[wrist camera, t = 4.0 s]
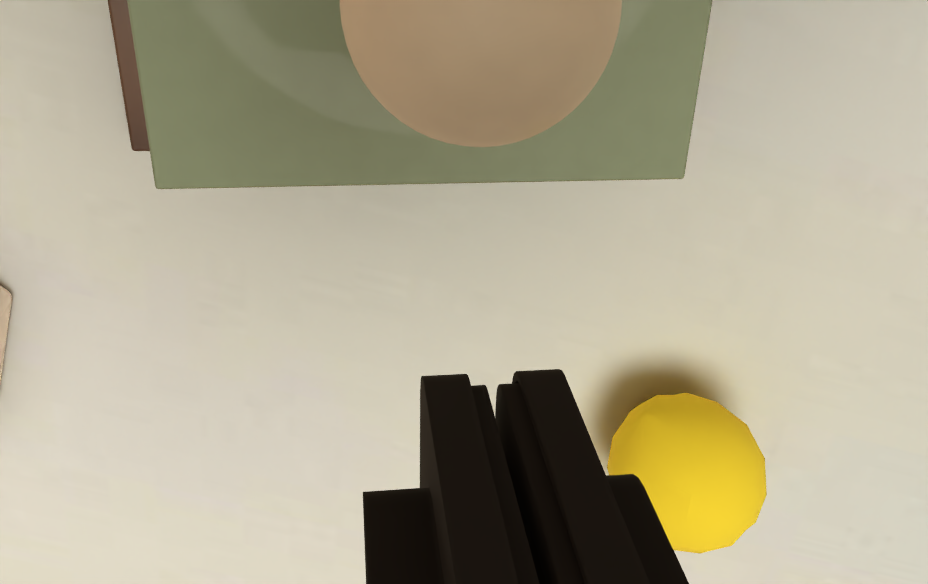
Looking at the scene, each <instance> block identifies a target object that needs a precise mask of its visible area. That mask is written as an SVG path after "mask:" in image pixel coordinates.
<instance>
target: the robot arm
mask: <svg viewBox="0 0 928 584" xmlns="http://www.w3.org/2000/svg"><path fill="white" fill-rule="evenodd" d="M363 508H364V537H365V563H366V584H689V583H688V581H687V579H686V576H685V574H684V572H683V570H682V568H681V566H680V563H679V561H678V559H677V557H676V555H675V553H674V550H673V548H672V546H671V544H670V542H669V540H668V537H667V535H666V533H665V531H664V529H663V526H662V524H661V522H660V520H659V518H658V516H657V513H656V511H655V509H654V507H653V505H652V503H651V500H650V498H649V496H648V494H647V492H646V490H645V487H644V486H643V484H642V482H641V481H640V479H639V478H638V477H637V476H636V475H634V474H624V475H609V476H606V475H605V472H604V470H603V467H602V465H601V462H600V460H599V458H598V455H597V453H596V450H595V448H594V445H593V443H592V441H591V438H590V436H589V433H588V431H587V428H586V426H585V424H584V421H583V419H582V416H581V414H580V411H579V409H578V407H577V404H576V402H575V399H574V397H573V394H572V392H571V389H570V387H569V385H568V382H567V380H566V377H565V375H564V373H563V371H562V370H560V369H554V370H535V371H516V372H515V373H514V376H513V381H512V384H499V385H498V388H497V396H496V414H495V416H494V412H493V409H492V405H491V401H490V398H489V394H488V390H487V387H486V386H485V385H478V386H471V384H470V380H469V377H468V375H467V374H456V375H437V376H422V377H421V389H420V488H416V489H401V490H386V491H372V492H363Z"/></svg>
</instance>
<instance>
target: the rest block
mask: <svg viewBox="0 0 928 584" xmlns="http://www.w3.org/2000/svg"><path fill="white" fill-rule="evenodd" d="M127 3H128V9H129V16H130V23H131V29H132V36H133V42H134V49H135V56H136V62H137V69H138V75H139V82H140V89H141V95H142V102H143V108H144V115H145V121H146V128H147V135H148V141H149V148H150V154H151V161H152V168H153V174H154V181H155V186H156V188H157V189H184V188H236V187H287V186H338V185H390V184H441V183H493V182H544V181H595V180H647V179H682V178H684V174H685V168H686V161H687V155H688V149H689V143H690V136H691V130H692V124H693V118H694V111H695V105H696V99H697V93H698V86H699V80H700V74H701V68H702V61H703V55H704V49H705V43H706V36H707V30H708V24H709V18H710V11H711V5H712V0H622V9H621V18H620V24H619V30H618V35H617V38H616V41H615V45H614V48H613V51H612V54H611V56H610V59H609V61H608V63H607V65H606V68H605V70H604V71H603V73H602V75H601V76H600V78H599V80H598V82H597V83H596V85H595V86H594V87H593V89H592V90H591V91H590V93H589V94H588V95H587V97H586V98H585V99H584V100H583V101H582V102H581V103H580V104H579V105H578V106H577V107H576V108H575V109H574V110H573V111H572V112H571V113H570V114H568V115H567V116H566V117H565V118H564V119H562V120H561V121H560V122H558V123H557V124H555V125H553V126H552V127H550V128H549V129H547V130H545V131H543V132H541V133H539V134H537V135H535V136H533V137H531V138H528V139H525V140H522V141H519V142H516V143H511V144H506V145H501V146H492V147H468V146H461V145H455V144H450V143H445V142H442V141H439V140H436V139H433V138H430V137H428V136H425V135H423V134H421V133H419V132H417V131H415V130H413V129H412V128H410V127H409V126H407V125H405V124H404V123H402V122H401V121H400V120H398V119H397V118H396V117H395V116H394V115H392V114H391V113H390V112H389V111H388V110H386V109H385V108H384V107H383V105H382V104H381V103H380V102H379V101H378V100H377V99H376V98H375V97H374V96H373V95H372V93H371V92H370V90H369V89H368V88H367V86H366V85H365V83H364V82H363V81H362V79H361V77H360V75H359V73H358V71H357V69H356V68H355V66H354V64H353V61H352V58H351V56H350V53H349V50H348V48H347V45H346V41H345V37H344V32H343V28H342V24H341V14H340V0H127Z"/></svg>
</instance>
